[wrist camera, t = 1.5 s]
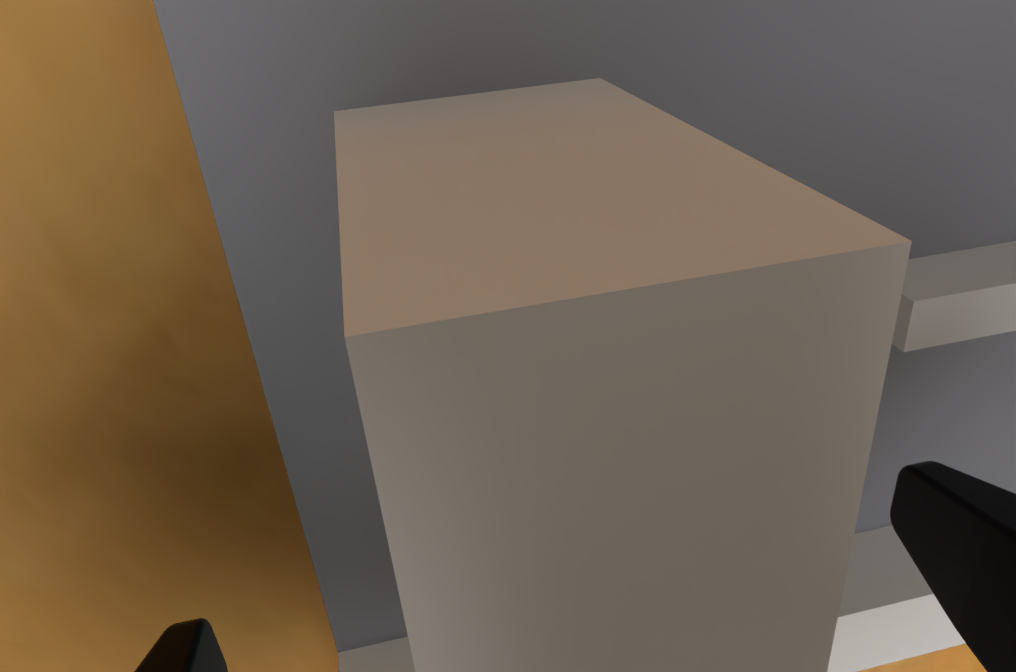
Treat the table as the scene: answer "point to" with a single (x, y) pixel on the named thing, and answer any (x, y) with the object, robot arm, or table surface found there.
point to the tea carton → (607, 382)
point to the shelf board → (698, 102)
